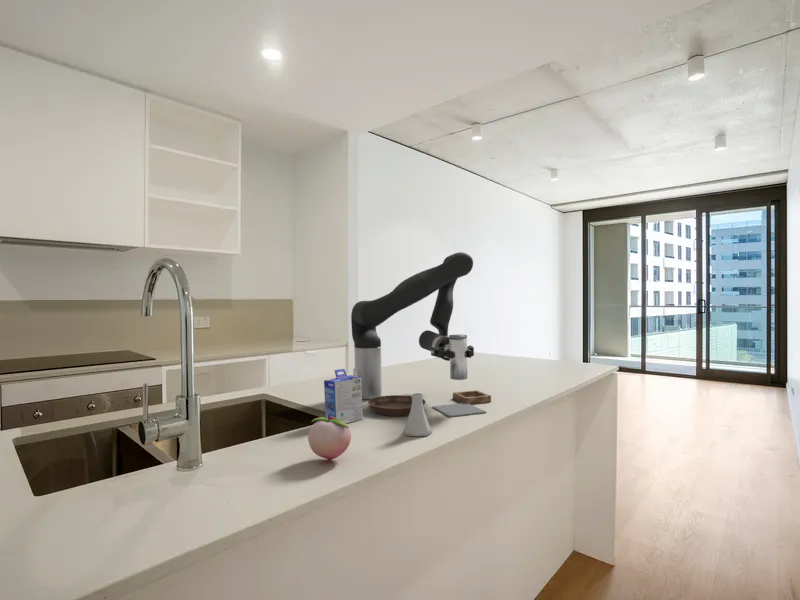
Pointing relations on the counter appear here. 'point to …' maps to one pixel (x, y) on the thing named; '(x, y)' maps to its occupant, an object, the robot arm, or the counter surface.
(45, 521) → the counter surface
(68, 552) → the counter surface
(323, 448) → the decorative fruit
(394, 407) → the plant saucer
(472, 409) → the rubber mat
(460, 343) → the canister
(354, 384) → the ink cartridge box
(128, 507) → the counter surface
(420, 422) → the flask
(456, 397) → the pocket frame
